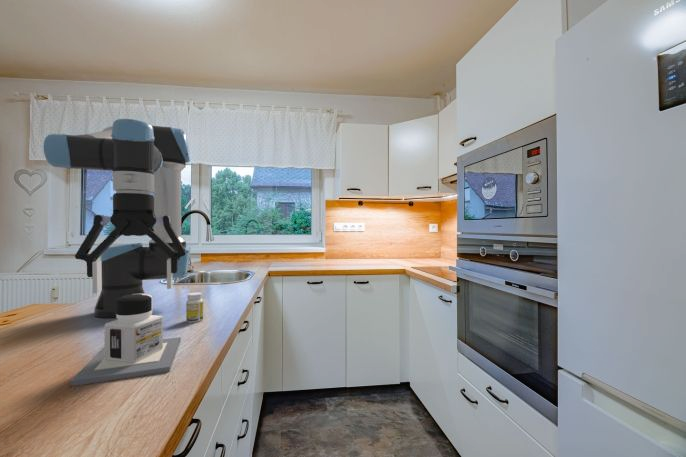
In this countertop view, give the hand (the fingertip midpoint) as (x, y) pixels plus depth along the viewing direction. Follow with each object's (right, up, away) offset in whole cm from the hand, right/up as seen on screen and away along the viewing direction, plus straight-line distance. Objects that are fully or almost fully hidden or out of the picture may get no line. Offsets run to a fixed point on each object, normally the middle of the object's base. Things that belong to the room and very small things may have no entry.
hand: (134, 290), depth 69 cm
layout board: (0, -15, 0) cm, 15 cm away
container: (0, -14, 0) cm, 14 cm away
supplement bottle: (0, -15, +28) cm, 32 cm away
